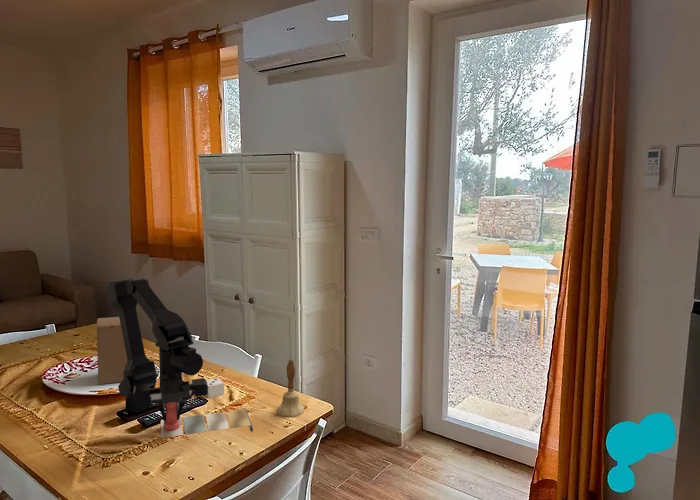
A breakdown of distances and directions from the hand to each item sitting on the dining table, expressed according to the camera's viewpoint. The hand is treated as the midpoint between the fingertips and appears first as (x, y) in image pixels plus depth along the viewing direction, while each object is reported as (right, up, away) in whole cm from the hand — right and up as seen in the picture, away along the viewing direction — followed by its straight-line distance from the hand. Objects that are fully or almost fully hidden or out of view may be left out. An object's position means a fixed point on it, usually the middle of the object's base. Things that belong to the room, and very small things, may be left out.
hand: (171, 420), depth 135 cm
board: (+8, -3, +4) cm, 10 cm away
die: (+5, 0, +23) cm, 23 cm away
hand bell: (+30, -3, +16) cm, 34 cm away
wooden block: (-31, +3, +34) cm, 46 cm away
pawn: (0, -2, 0) cm, 2 cm away
